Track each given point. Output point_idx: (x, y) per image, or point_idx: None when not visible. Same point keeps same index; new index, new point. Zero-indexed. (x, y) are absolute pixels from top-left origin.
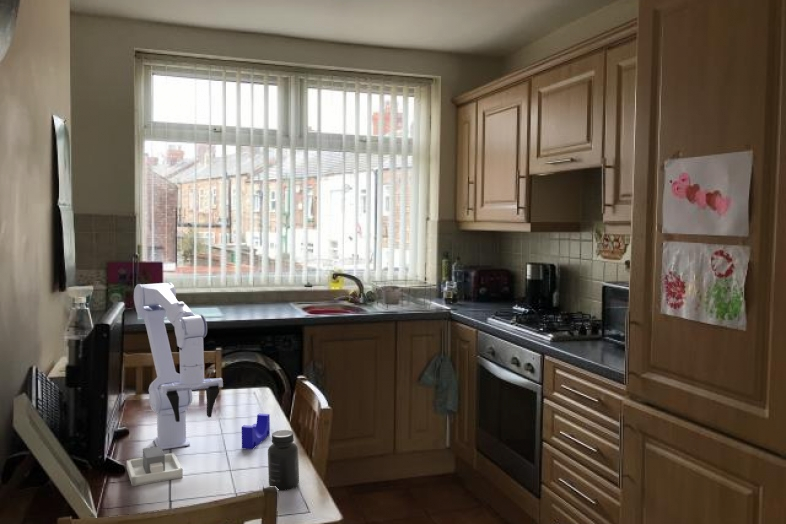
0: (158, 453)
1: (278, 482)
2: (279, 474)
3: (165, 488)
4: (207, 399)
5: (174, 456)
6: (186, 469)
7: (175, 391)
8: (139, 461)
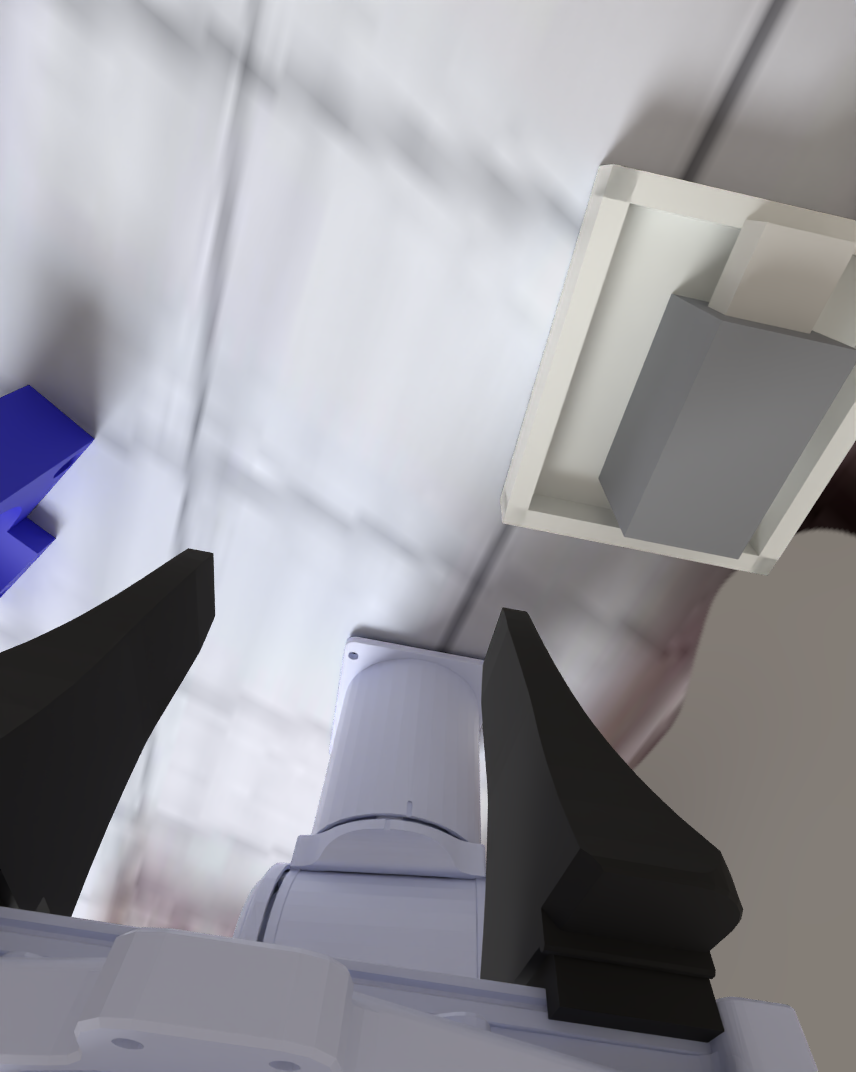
0: (727, 397)
1: None
2: None
3: (817, 6)
4: (122, 748)
5: (529, 464)
6: (505, 314)
7: (579, 996)
8: None
